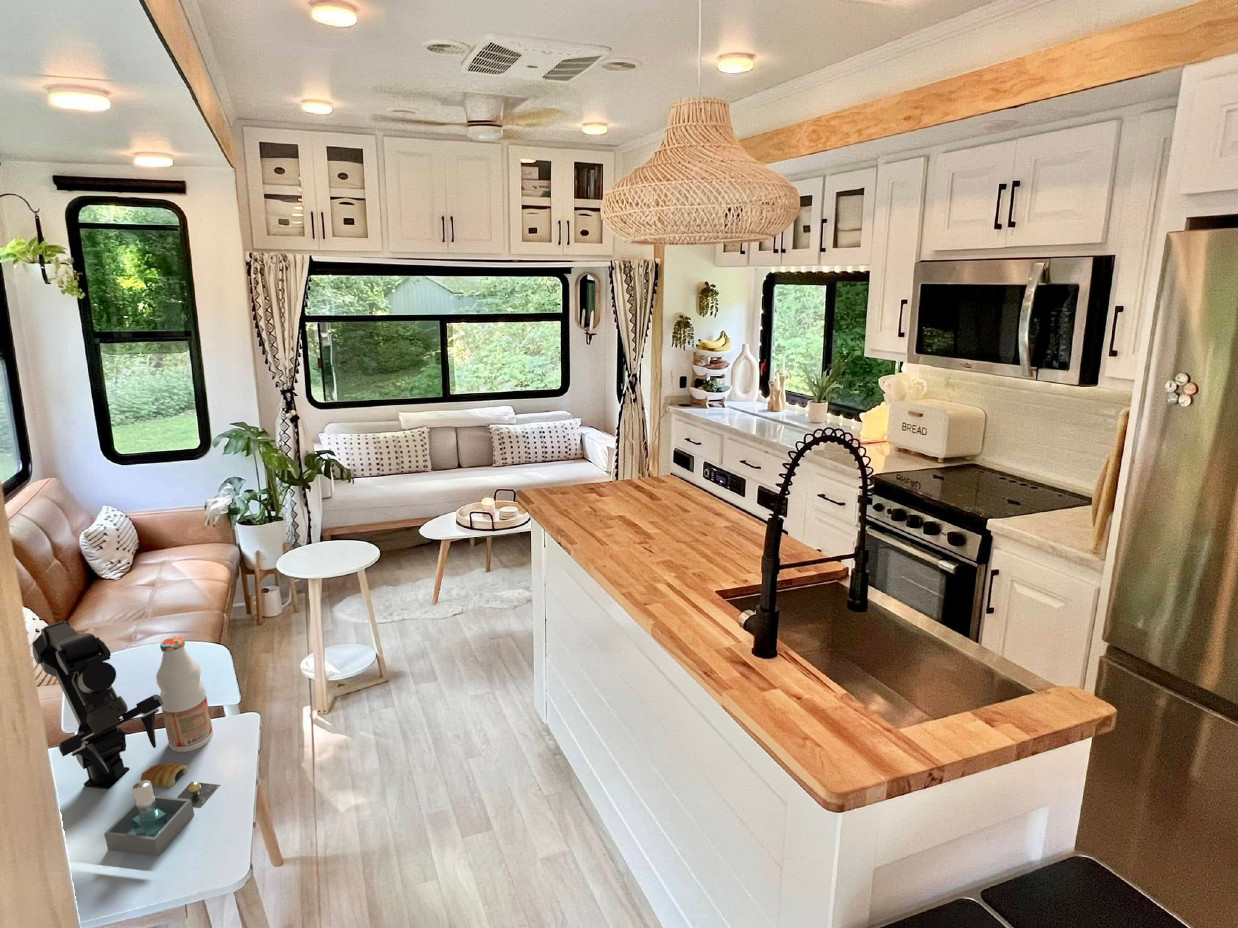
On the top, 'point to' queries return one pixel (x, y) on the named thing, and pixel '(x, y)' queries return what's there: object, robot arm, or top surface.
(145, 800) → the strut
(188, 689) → the fruit juice
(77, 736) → the robot arm
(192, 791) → the stud stand
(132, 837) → the bin
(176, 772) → the pastry
